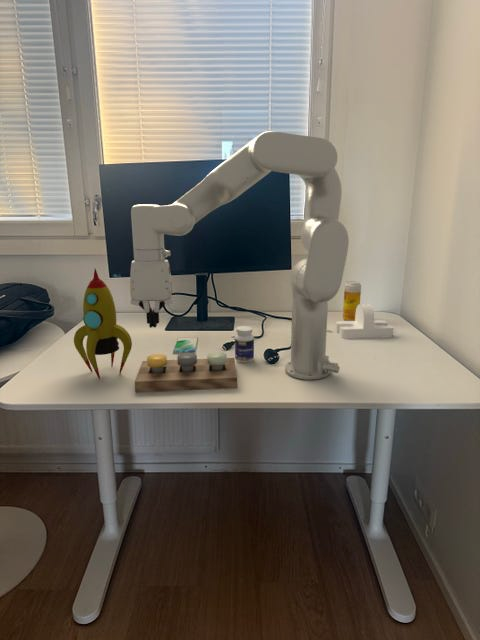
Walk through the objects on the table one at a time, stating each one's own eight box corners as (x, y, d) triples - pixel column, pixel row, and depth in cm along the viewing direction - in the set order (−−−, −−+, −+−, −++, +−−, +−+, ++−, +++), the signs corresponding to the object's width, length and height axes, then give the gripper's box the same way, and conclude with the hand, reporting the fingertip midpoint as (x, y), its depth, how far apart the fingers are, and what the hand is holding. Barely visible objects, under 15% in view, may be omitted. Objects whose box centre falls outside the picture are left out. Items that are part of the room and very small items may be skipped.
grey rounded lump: (197, 368, 121) (197, 352, 120) (197, 376, 116) (196, 359, 115) (178, 369, 121) (177, 353, 120) (177, 376, 116) (176, 360, 115)
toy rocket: (91, 386, 116) (80, 274, 107) (76, 370, 126) (64, 266, 117) (135, 375, 123) (128, 269, 114) (117, 360, 133) (110, 262, 124)
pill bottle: (237, 364, 129) (237, 331, 127) (232, 357, 135) (232, 326, 132) (256, 361, 131) (256, 330, 128) (250, 355, 136) (250, 324, 133)
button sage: (226, 367, 122) (226, 351, 121) (227, 375, 117) (227, 358, 116) (207, 368, 122) (207, 352, 120) (207, 375, 117) (207, 359, 115)
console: (234, 367, 127) (234, 357, 126) (237, 388, 113) (237, 377, 113) (143, 370, 125) (142, 360, 124) (135, 392, 112) (134, 381, 111)
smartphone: (198, 337, 152) (195, 352, 138) (198, 339, 152) (195, 355, 138) (177, 337, 152) (172, 352, 138) (177, 339, 152) (172, 355, 138)
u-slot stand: (393, 338, 151) (396, 307, 148) (341, 339, 150) (343, 309, 147) (383, 329, 160) (386, 300, 157) (334, 330, 160) (336, 302, 156)
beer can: (339, 318, 173) (341, 281, 169) (353, 317, 175) (355, 280, 171) (347, 323, 167) (350, 284, 163) (361, 321, 169) (364, 283, 165)
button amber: (168, 369, 121) (167, 353, 120) (166, 377, 116) (165, 360, 115) (149, 370, 121) (148, 354, 119) (146, 378, 116) (145, 361, 114)
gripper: (180, 253, 113) (183, 321, 118) (121, 253, 112) (126, 322, 118) (178, 257, 106) (181, 329, 111) (115, 258, 105) (121, 331, 110)
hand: (153, 325), depth 114 cm, fingers closed
